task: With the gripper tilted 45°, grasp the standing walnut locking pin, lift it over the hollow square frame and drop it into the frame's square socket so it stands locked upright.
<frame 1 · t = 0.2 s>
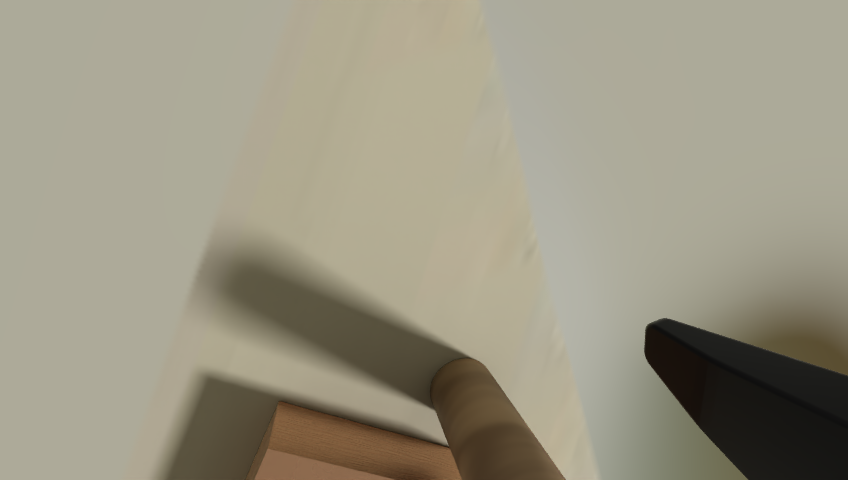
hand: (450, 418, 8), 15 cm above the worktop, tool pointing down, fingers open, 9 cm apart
locking pin: (461, 388, 26), on the worktop
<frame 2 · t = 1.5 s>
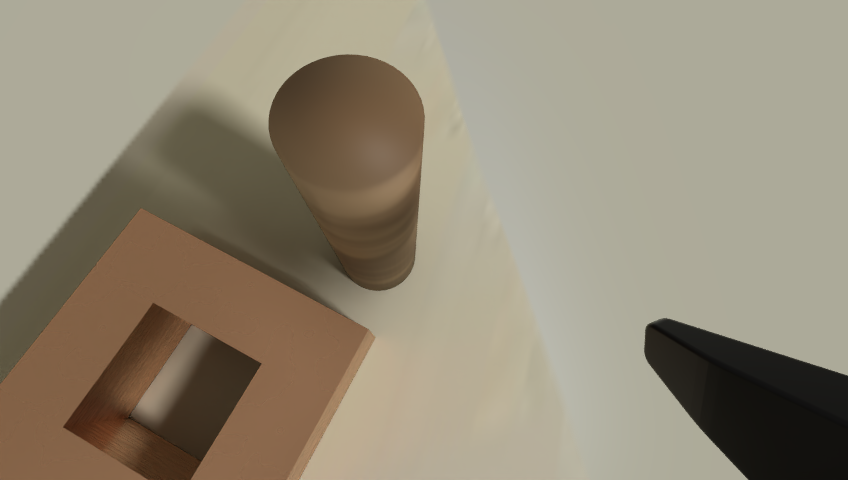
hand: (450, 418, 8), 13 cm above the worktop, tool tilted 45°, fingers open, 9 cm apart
hollow square frame: (209, 390, 21), on the worktop
locking pin: (379, 255, 23), on the worktop
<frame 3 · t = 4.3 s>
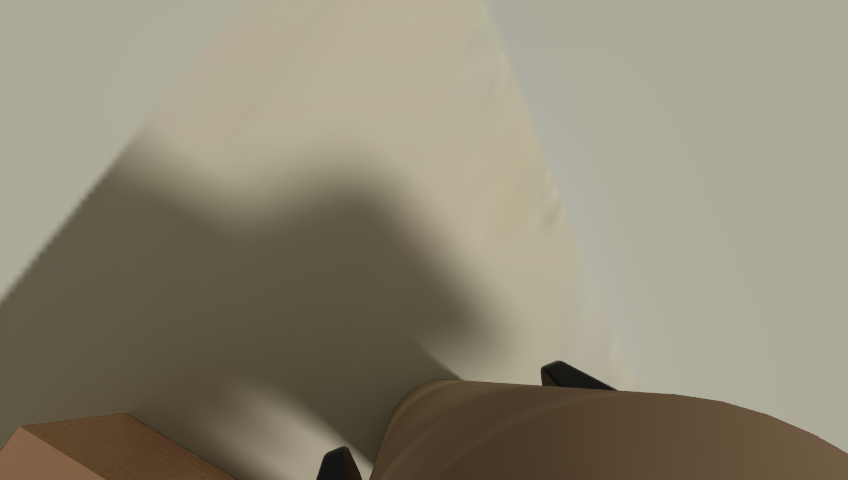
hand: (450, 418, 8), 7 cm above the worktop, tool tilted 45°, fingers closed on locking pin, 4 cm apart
locking pin: (445, 441, 14), on the worktop, touching gripper
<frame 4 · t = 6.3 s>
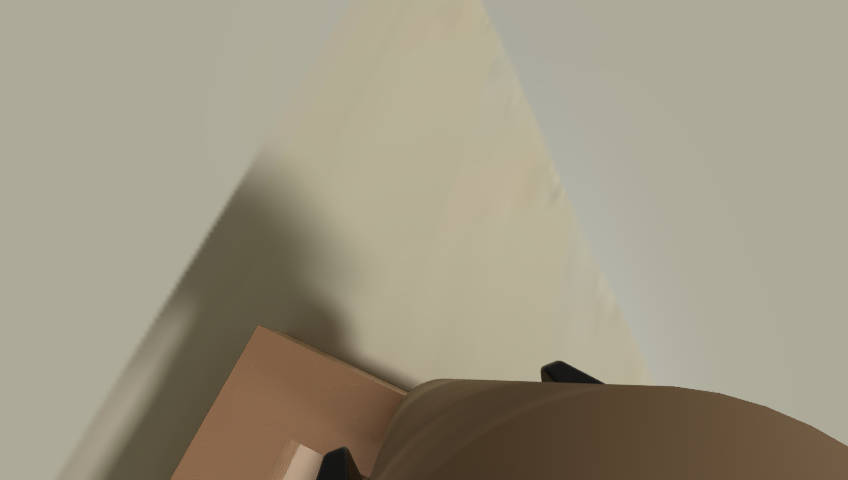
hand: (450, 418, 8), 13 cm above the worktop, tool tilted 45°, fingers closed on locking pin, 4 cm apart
locking pin: (445, 441, 14), point 7 cm above the worktop, touching gripper
when the fingers open (9 cm above the worktop, at t = 8.6 s): locking pin drops 3 cm, resting in hollow square frame.
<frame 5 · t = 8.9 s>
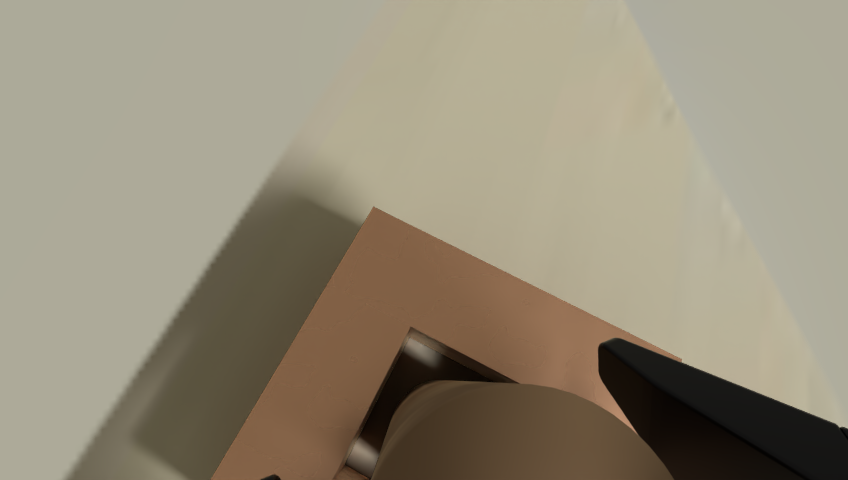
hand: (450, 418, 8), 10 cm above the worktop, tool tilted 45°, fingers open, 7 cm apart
hollow square frame: (438, 430, 17), on the worktop
locking pin: (439, 432, 17), resting in hollow square frame
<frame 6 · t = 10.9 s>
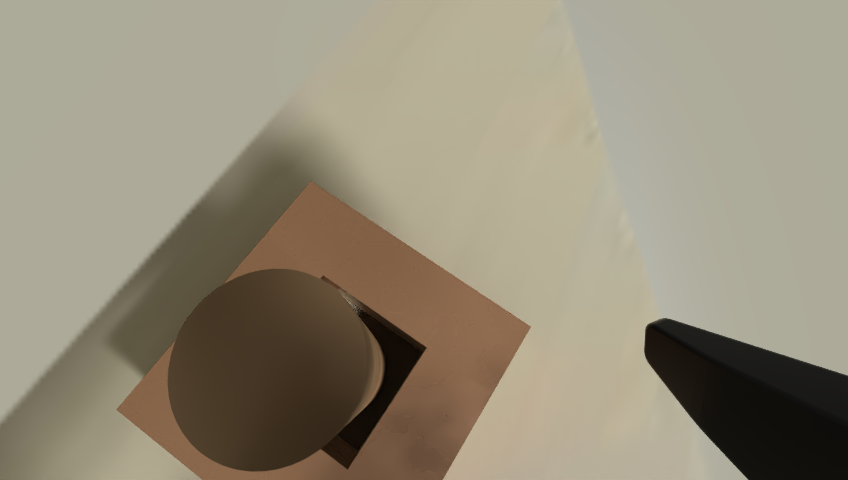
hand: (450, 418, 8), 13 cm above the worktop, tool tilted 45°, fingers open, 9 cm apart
hollow square frame: (346, 367, 21), on the worktop
locking pin: (347, 368, 21), resting in hollow square frame
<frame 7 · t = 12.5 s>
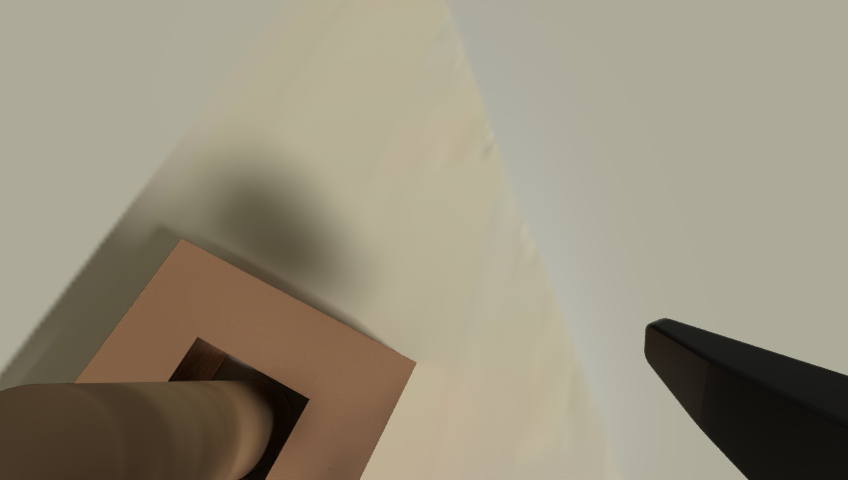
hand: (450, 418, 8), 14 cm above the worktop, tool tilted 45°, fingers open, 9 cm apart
hollow square frame: (248, 421, 20), on the worktop
locking pin: (249, 423, 20), resting in hollow square frame
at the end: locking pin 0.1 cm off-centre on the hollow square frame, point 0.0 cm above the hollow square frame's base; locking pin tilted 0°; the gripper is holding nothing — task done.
